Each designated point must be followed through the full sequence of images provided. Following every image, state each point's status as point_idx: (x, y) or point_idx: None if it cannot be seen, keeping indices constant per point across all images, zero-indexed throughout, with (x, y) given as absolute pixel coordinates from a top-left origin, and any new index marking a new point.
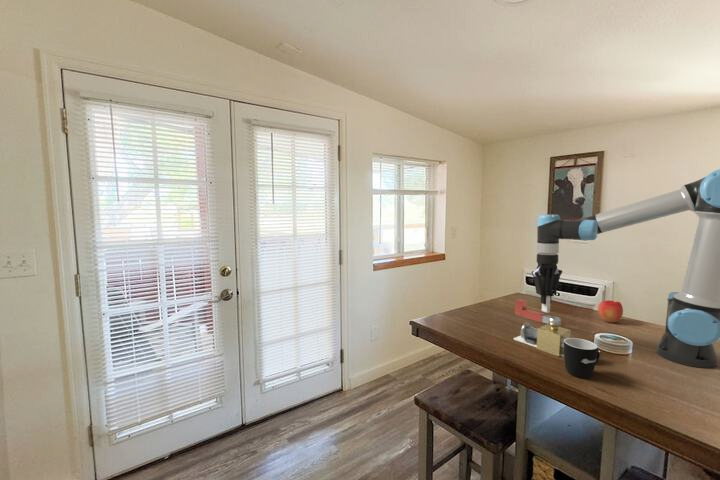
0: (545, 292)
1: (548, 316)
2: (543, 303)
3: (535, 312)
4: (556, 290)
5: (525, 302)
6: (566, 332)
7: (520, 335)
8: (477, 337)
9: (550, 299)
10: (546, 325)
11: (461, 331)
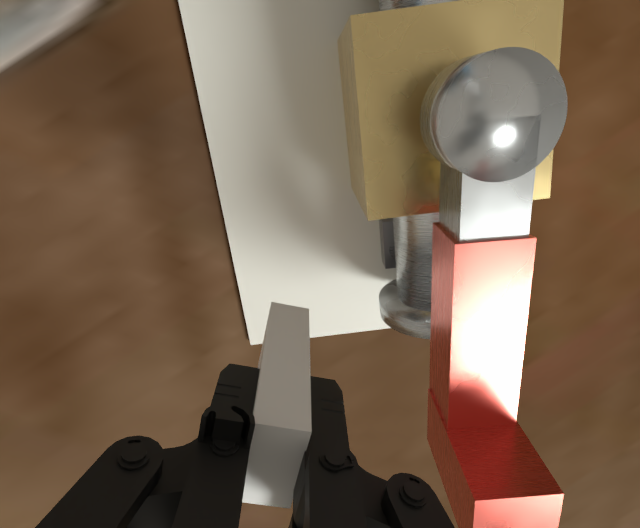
0: (350, 501)
1: (503, 186)
2: (336, 388)
3: (496, 322)
4: (84, 483)
5: (491, 481)
6: (437, 3)
7: (390, 327)
8: (593, 409)
9: (228, 398)
10: (422, 203)
11: (584, 486)
